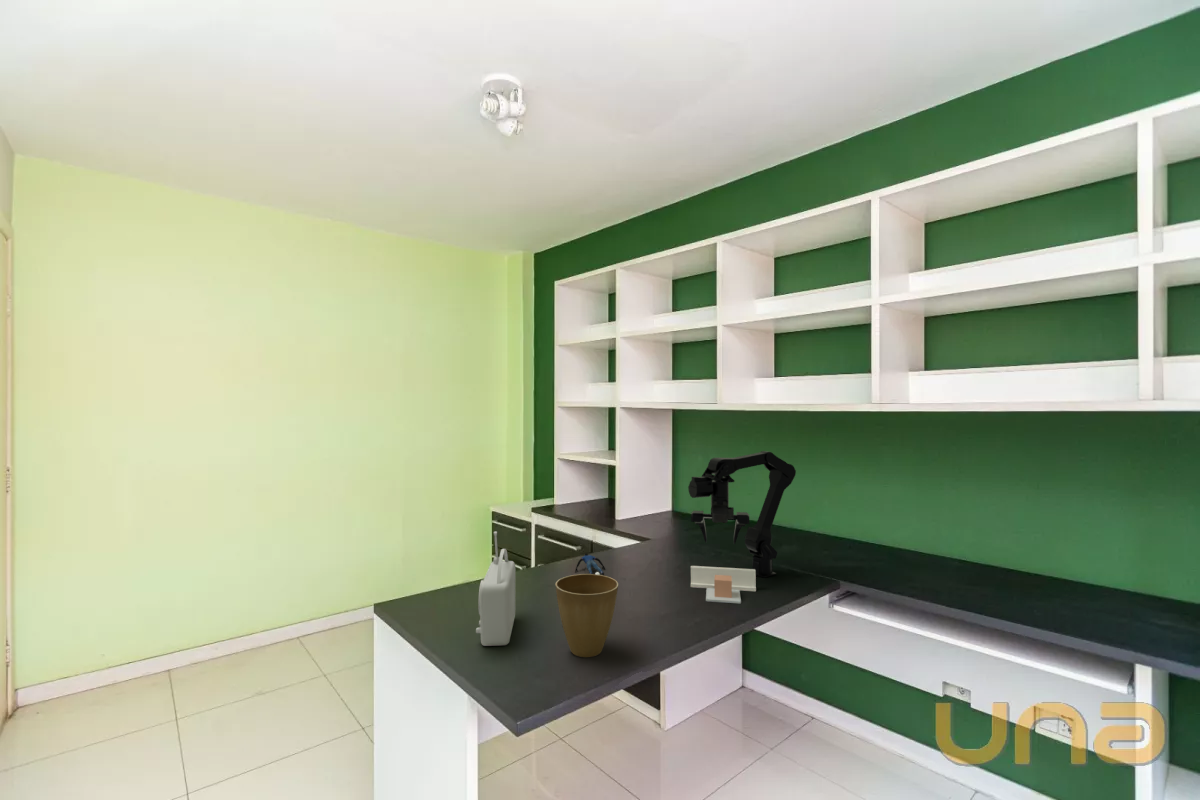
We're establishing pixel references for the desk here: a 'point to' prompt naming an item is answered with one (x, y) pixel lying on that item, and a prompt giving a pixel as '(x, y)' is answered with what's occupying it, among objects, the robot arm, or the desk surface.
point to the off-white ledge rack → (706, 575)
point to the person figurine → (591, 564)
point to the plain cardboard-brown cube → (723, 586)
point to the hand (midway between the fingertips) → (720, 543)
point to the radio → (497, 601)
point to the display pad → (711, 597)
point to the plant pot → (586, 611)
